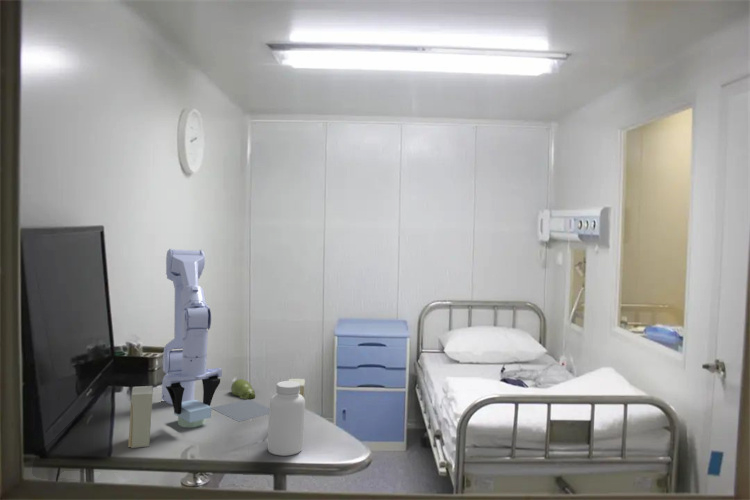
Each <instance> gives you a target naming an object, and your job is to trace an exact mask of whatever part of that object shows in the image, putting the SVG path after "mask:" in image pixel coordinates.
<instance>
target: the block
mask: <svg viewBox="0 0 750 500" xmlns="http://www.w3.org/2000/svg"><path fill="white" fill-rule="evenodd" d="M211 408H212V406H211V405H210V406H209V405H207V404H204V403H203V401H201V400H199V399H198V400H197V399H195V398H194V400H189V401H185V402H182V410H181V414H176V413H174V412H173V414H174V416H177V418H178V417H180V418H182V419H184V420H186V421H187V422H189V423H190V422H194V421H198V420H202V419H206V420H207V419H210V418H211V417H212V409H211Z"/></svg>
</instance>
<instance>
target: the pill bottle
mask: <svg viewBox="0 0 750 500" xmlns="http://www.w3.org/2000/svg"><path fill="white" fill-rule="evenodd" d="M275 389H276V391H275V392H276V394H274V395H273V396H272V397H271V398H270V401H269V408H270V409H269V414H268V430H267V431H268V432H267V451H268V452H269V453H270V454H272V455H275V456H280V457H281V456H283V457H285V456H286V457H287V456H293V455H296V454H298V453H301V451H302V449H303V446H304V444H303V443H304V432H305V429H304V428H305V426H304V425H305V414H306V413H305V412H306V411H305V409H306V400H305V397H303V396H302V395H300V394H299V393H300V384H299V383H298V382H295V381H288V380H284V381H279V382H277V384H276V388H275Z"/></svg>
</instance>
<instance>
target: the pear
mask: <svg viewBox="0 0 750 500" xmlns="http://www.w3.org/2000/svg"><path fill="white" fill-rule="evenodd" d="M252 386H253V385H251V383H250V382H249V381H247V380H246V379H241V378H240V379H236V380H235V381H233V382H232V384H231V387H230V391H231V395H233V396H236V397H238V398H240V399H242V400H247V399H249V400H252V399H256V392H255V390H254V388H253V387H252Z"/></svg>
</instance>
